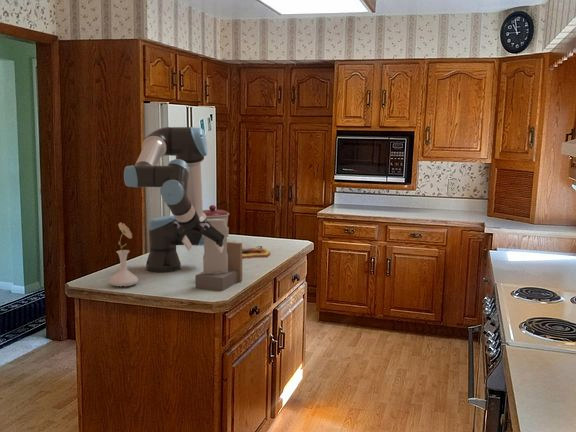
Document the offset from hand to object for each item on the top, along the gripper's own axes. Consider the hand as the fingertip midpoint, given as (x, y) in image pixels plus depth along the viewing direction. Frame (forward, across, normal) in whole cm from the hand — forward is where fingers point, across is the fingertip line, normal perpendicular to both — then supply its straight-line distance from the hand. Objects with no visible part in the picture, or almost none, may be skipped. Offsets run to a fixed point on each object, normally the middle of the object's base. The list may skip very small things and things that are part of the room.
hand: (205, 248), depth 229 cm
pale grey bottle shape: (+14, 0, -2) cm, 15 cm away
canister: (+74, -41, +51) cm, 98 cm away
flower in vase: (+10, -35, -14) cm, 39 cm away
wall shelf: (+19, 0, -5) cm, 19 cm away
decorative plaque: (+59, -16, +35) cm, 71 cm away
